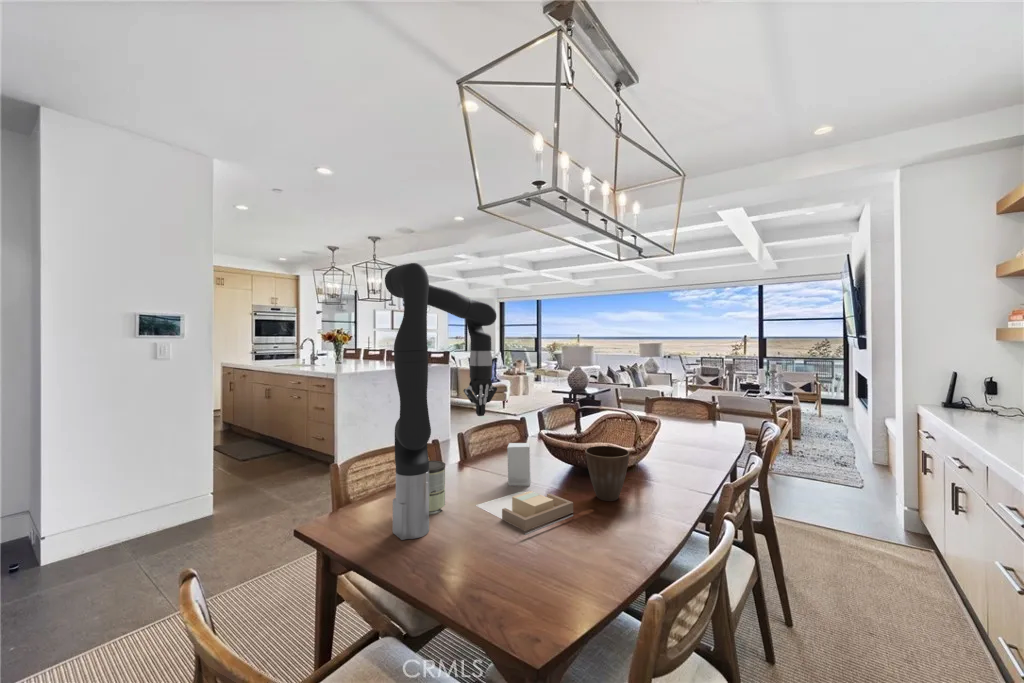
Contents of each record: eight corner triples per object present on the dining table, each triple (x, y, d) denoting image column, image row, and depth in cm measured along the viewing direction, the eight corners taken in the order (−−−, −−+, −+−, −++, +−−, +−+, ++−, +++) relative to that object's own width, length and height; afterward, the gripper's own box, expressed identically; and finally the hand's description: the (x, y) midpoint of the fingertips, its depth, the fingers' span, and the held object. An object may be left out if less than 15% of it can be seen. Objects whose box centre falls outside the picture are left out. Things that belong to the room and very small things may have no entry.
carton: (534, 521, 121) (534, 506, 121) (512, 511, 129) (512, 496, 129) (553, 514, 127) (553, 499, 127) (530, 504, 134) (530, 490, 134)
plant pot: (618, 509, 134) (618, 459, 134) (577, 498, 143) (577, 452, 143) (635, 495, 146) (635, 450, 146) (596, 486, 155) (596, 443, 155)
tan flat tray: (525, 535, 115) (525, 520, 115) (475, 509, 134) (475, 496, 134) (573, 516, 128) (573, 502, 128) (521, 494, 147) (521, 482, 147)
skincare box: (530, 483, 158) (530, 442, 158) (529, 489, 151) (529, 447, 152) (508, 483, 159) (509, 442, 159) (507, 489, 152) (507, 446, 152)
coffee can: (406, 510, 132) (406, 466, 132) (428, 500, 141) (428, 458, 141) (430, 517, 127) (430, 471, 127) (451, 506, 136) (452, 463, 136)
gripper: (470, 365, 133) (470, 419, 133) (503, 364, 142) (502, 415, 142) (458, 364, 139) (457, 416, 139) (489, 363, 147) (489, 412, 147)
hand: (480, 415), depth 140 cm, fingers closed
